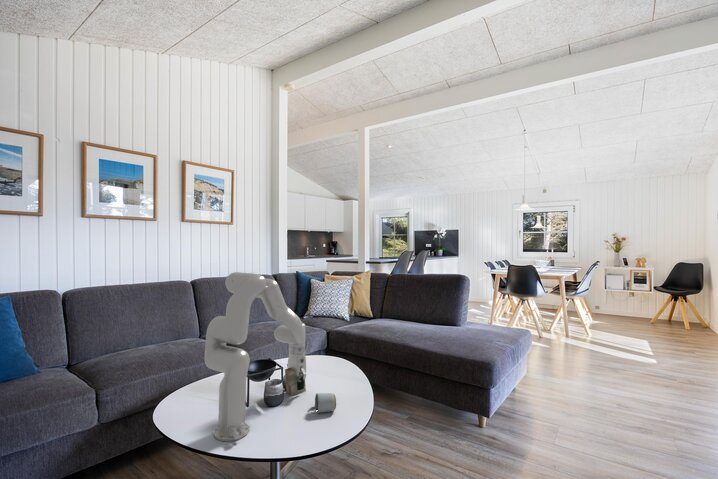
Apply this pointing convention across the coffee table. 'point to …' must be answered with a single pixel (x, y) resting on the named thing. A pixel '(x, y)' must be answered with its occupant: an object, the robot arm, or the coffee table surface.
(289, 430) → the coffee table surface
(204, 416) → the coffee table surface
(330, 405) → the ceramic mug
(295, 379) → the slab
